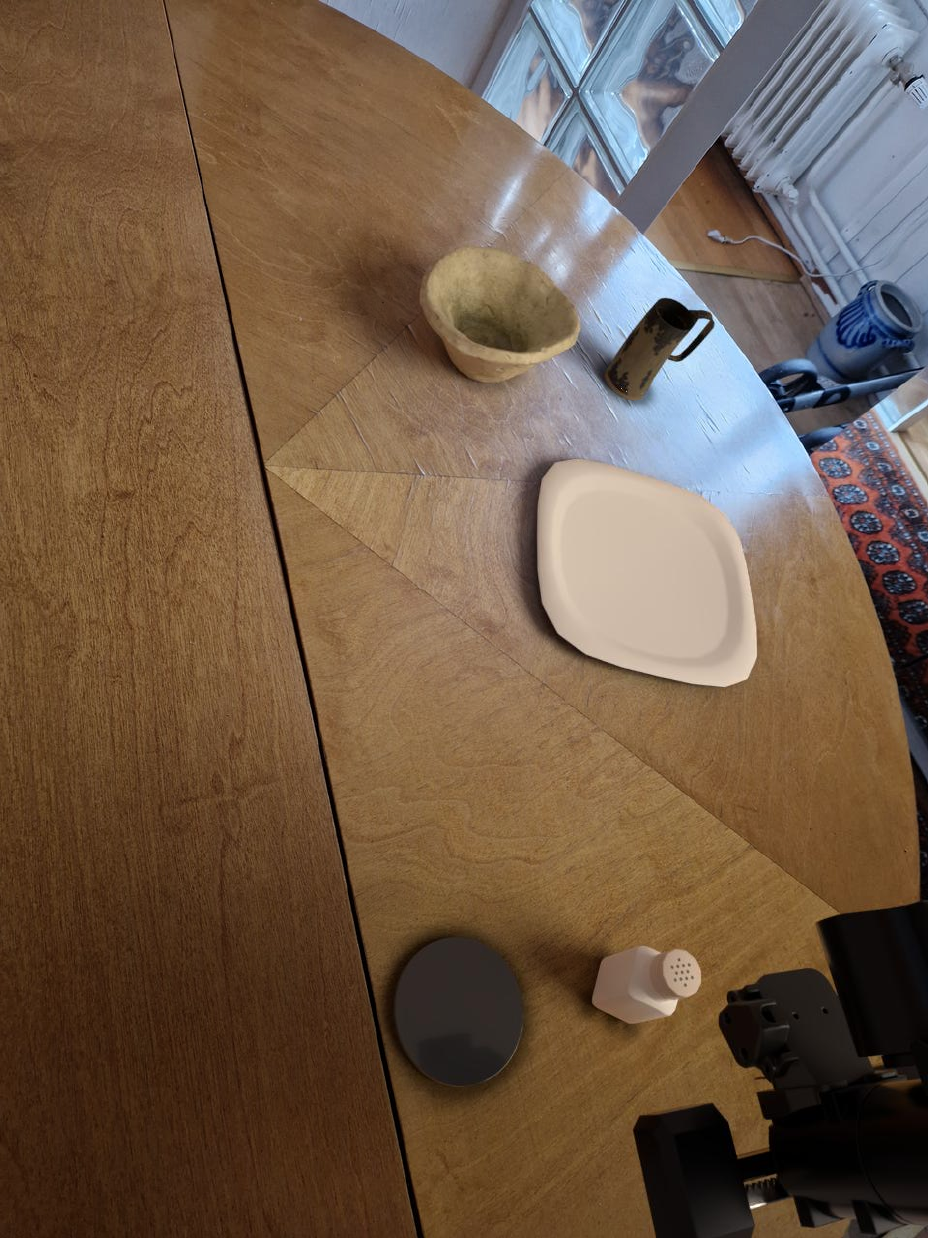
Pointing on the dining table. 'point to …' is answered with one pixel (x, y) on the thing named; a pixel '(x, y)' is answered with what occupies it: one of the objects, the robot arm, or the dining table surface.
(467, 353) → the bowl
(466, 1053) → the coaster
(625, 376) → the mug
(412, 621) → the dining table surface
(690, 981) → the salt shaker
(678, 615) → the plate
